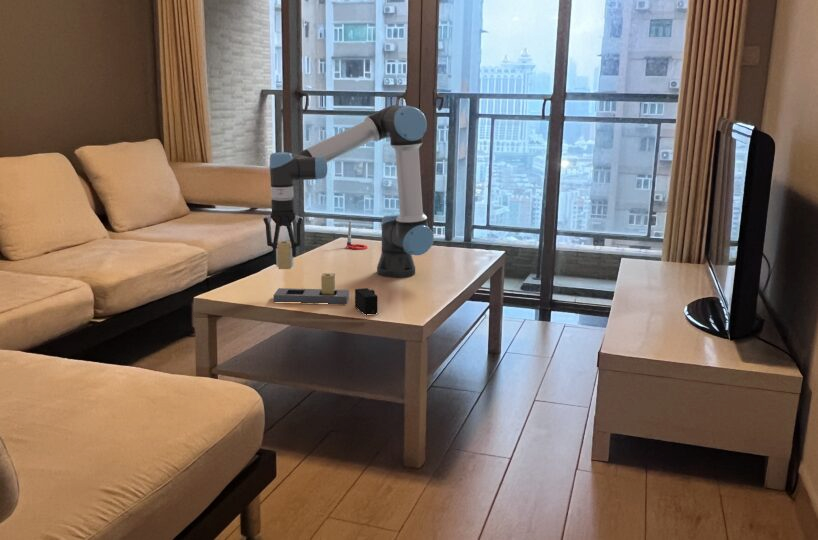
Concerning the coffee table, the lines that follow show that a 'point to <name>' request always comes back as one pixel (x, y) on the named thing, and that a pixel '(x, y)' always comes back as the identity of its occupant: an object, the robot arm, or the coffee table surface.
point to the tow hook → (352, 246)
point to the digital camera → (366, 300)
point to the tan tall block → (284, 254)
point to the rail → (310, 296)
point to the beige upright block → (328, 284)
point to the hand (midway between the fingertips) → (285, 265)
